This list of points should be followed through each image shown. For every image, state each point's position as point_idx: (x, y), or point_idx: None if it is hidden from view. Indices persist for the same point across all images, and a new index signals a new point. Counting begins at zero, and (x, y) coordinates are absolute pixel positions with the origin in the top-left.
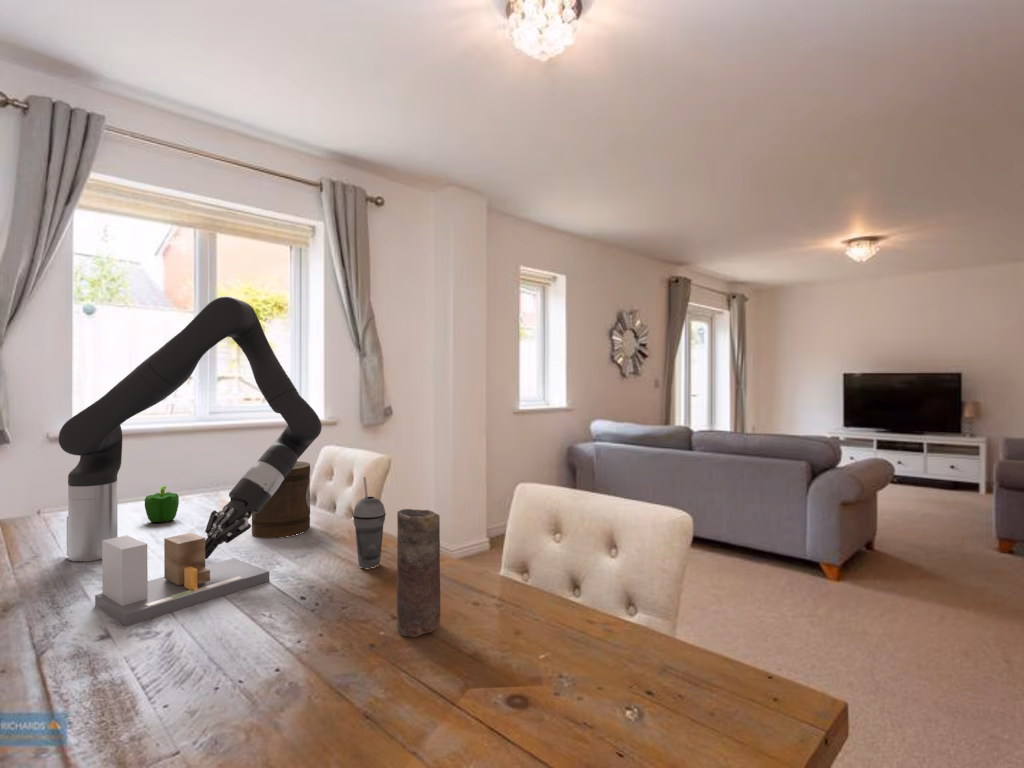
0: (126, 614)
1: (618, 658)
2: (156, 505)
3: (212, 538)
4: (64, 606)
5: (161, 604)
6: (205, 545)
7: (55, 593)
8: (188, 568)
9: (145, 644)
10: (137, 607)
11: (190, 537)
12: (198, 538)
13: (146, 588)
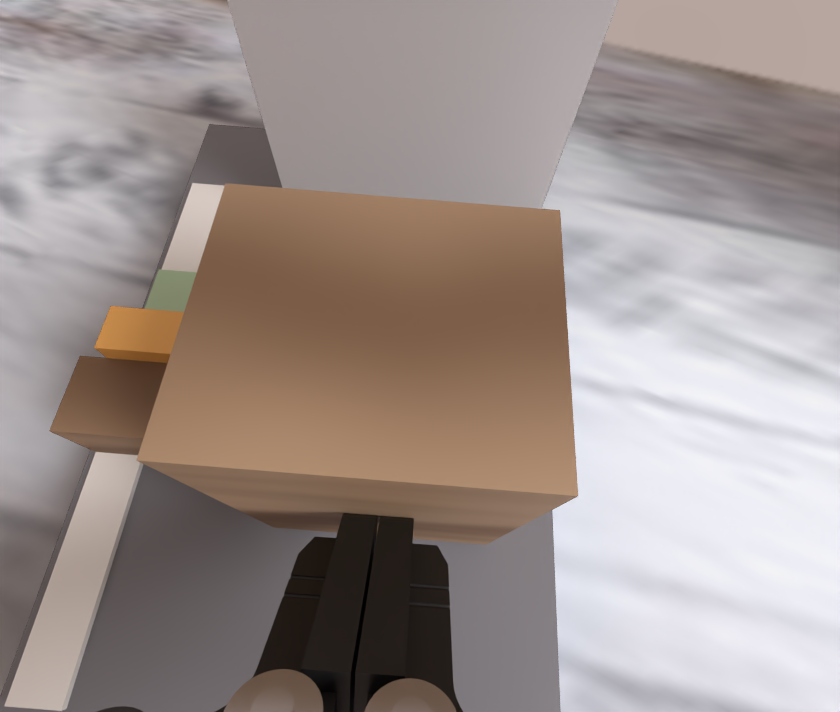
0: (210, 125)
1: None
2: None
3: (282, 678)
4: (612, 141)
5: (173, 227)
6: (325, 577)
7: (797, 172)
8: (173, 323)
9: (24, 132)
10: (236, 167)
11: (340, 365)
12: (201, 395)
13: (285, 185)
